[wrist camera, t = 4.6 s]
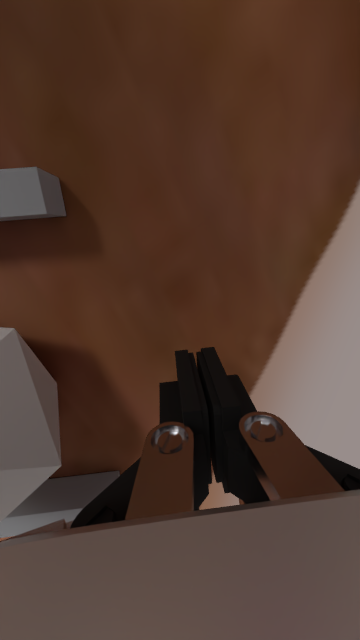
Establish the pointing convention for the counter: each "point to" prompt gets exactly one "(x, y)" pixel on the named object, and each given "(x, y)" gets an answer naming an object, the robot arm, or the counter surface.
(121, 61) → the counter surface
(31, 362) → the die
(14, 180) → the track
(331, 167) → the counter surface
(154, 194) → the counter surface
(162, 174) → the counter surface
